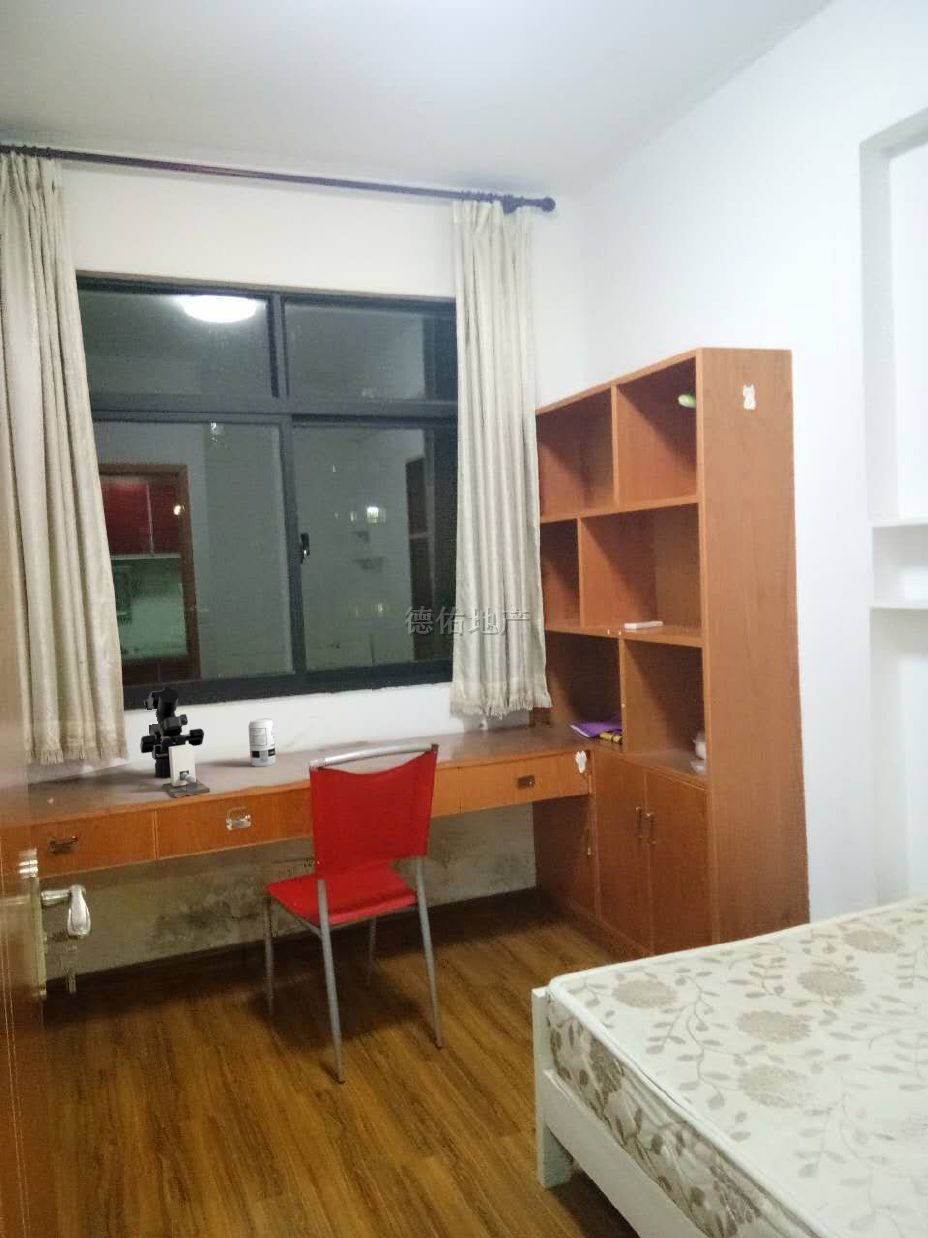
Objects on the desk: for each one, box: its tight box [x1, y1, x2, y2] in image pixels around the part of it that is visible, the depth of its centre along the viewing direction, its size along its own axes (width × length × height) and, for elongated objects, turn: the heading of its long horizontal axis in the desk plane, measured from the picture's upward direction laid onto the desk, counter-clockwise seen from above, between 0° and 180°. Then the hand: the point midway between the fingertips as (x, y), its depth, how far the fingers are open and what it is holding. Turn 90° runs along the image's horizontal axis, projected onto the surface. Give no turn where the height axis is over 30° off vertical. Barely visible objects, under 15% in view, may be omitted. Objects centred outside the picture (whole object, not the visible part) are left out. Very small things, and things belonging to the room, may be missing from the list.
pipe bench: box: [162, 771, 211, 798], centre depth 264 cm, size 17×10×5 cm, turn 31°
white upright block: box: [169, 743, 197, 787], centre depth 266 cm, size 4×6×11 cm, turn 121°
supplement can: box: [247, 718, 277, 768], centre depth 294 cm, size 8×8×15 cm
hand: (178, 762), depth 270 cm, fingers closed
